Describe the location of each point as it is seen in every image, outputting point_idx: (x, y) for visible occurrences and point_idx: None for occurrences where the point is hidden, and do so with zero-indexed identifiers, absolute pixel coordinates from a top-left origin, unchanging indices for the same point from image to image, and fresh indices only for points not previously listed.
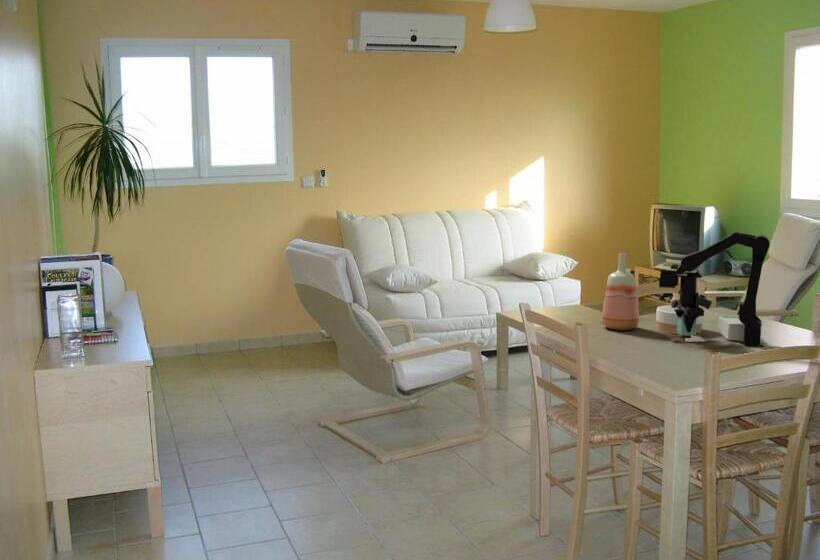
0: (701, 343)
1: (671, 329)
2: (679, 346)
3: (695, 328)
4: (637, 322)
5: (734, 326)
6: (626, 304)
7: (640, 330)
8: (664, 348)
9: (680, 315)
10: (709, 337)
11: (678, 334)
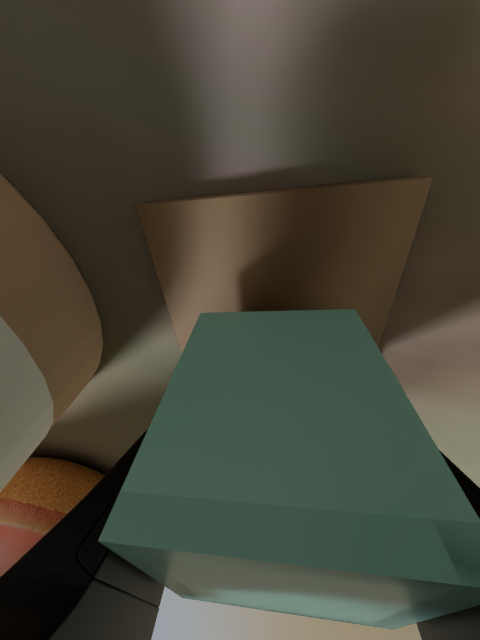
0: (448, 247)
1: (81, 386)
2: (466, 412)
3: (388, 369)
4: (66, 496)
5: None
6: None
7: (79, 444)
8: (472, 469)
9: (145, 610)
10: (127, 15)
11: (101, 330)
